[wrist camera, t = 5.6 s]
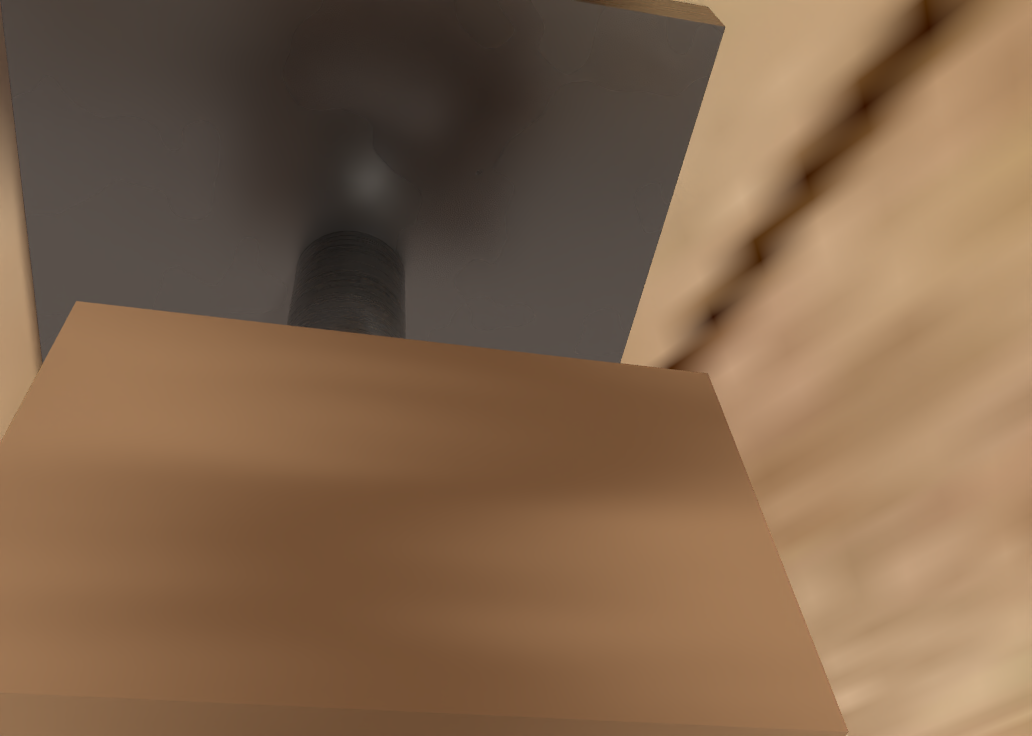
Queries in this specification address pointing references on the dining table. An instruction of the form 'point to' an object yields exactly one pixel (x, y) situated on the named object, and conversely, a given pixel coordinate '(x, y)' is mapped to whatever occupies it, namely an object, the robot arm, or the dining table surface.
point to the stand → (357, 161)
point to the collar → (382, 544)
